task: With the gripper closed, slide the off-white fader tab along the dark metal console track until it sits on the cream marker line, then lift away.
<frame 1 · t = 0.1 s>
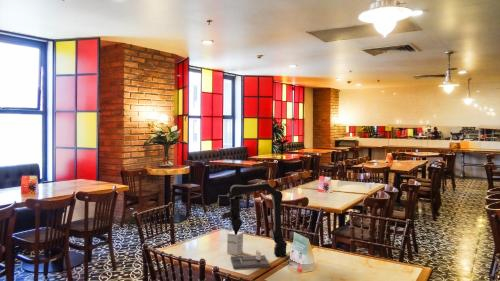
hand: (234, 232, 230), 15 cm above the table, fingers open, 9 cm apart
fader tab: (258, 254, 220), point 5 cm above the table, slide at -5.0 cm
supplement box: (234, 253, 238), on the table
console: (249, 263, 220), on the table
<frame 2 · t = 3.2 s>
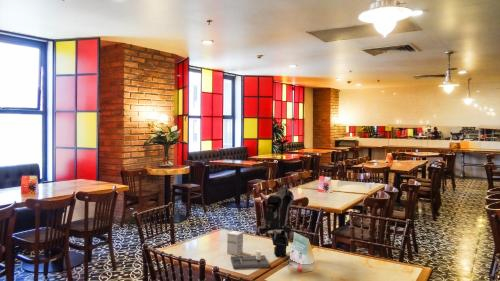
hand: (274, 244, 222), 11 cm above the table, fingers closed
nothing on the table moved.
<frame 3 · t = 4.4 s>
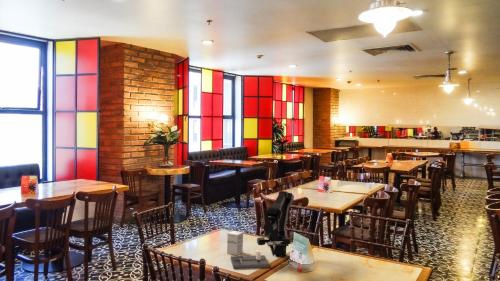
hand: (273, 255, 222), 4 cm above the table, fingers closed
nothing on the table moved.
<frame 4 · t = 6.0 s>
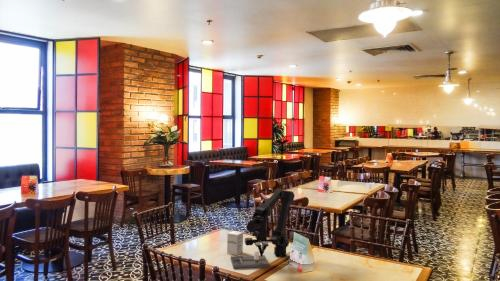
hand: (261, 256, 221), 4 cm above the table, fingers closed
fader tab: (256, 254, 220), point 5 cm above the table, slide at -3.9 cm, touching gripper
everything else where it was.
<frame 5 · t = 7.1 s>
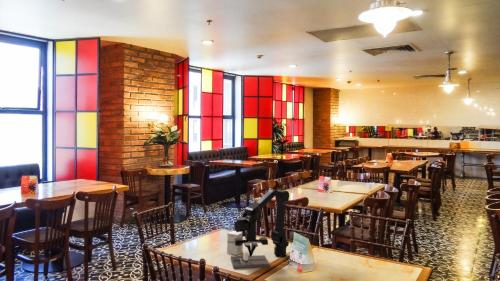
hand: (250, 256, 220), 4 cm above the table, fingers closed
fader tab: (245, 255, 219), point 5 cm above the table, slide at 2.2 cm, touching gripper
everything else where it was.
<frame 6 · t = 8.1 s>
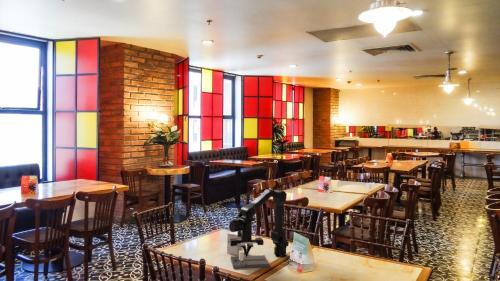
hand: (246, 256, 219), 4 cm above the table, fingers closed
fader tab: (241, 255, 219), point 5 cm above the table, slide at 4.8 cm, touching gripper
everything else where it was.
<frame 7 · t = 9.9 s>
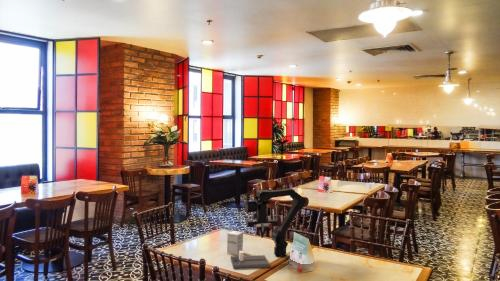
hand: (262, 237, 230), 12 cm above the table, fingers closed
fader tab: (241, 255, 219), point 5 cm above the table, slide at 4.8 cm
everything else where it was.
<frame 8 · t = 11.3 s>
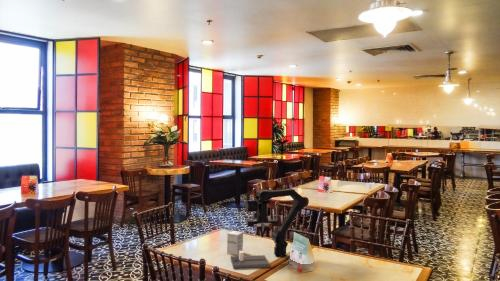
hand: (262, 237, 230), 12 cm above the table, fingers closed
nothing on the table moved.
at the end: fader tab slide at 4.8 cm; the gripper is holding nothing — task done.
